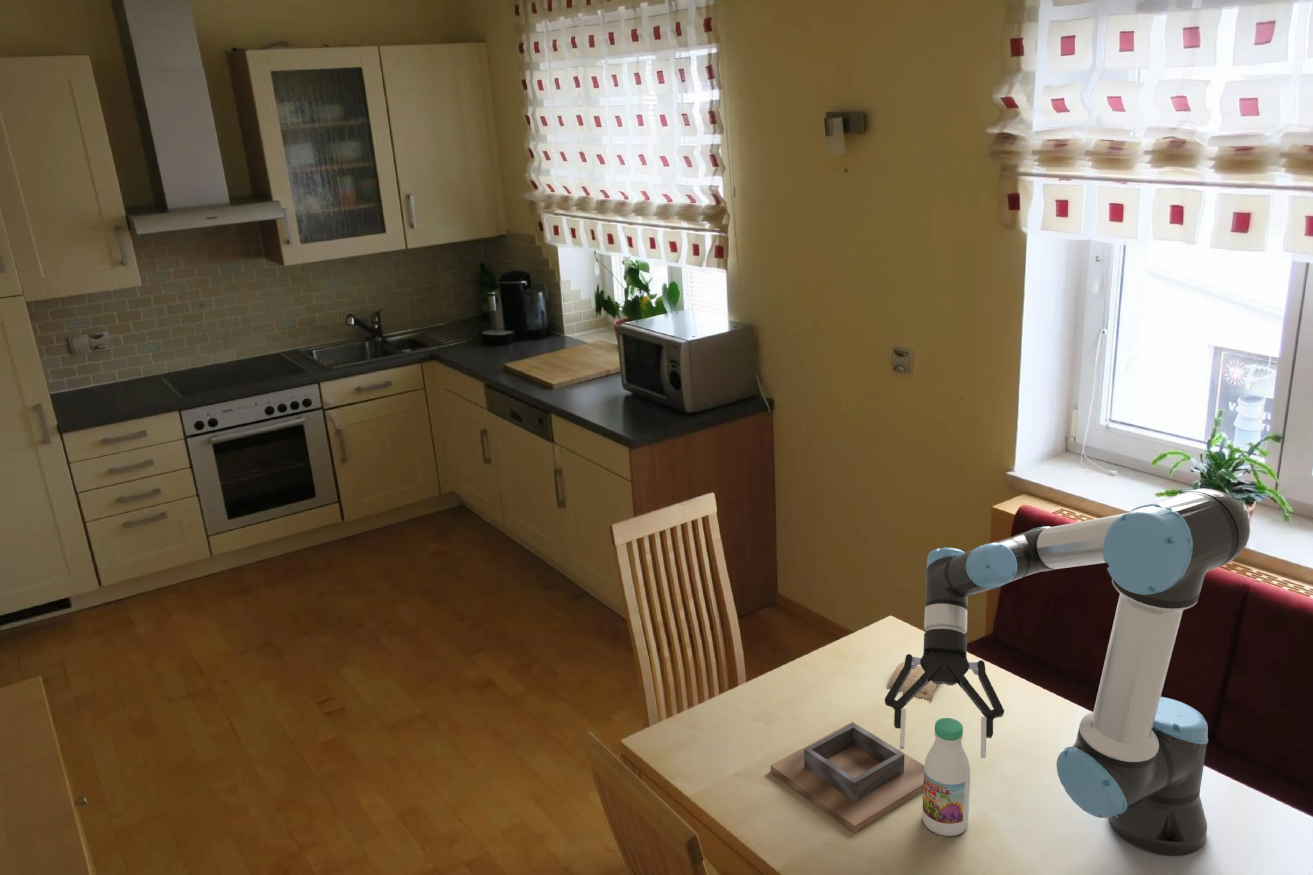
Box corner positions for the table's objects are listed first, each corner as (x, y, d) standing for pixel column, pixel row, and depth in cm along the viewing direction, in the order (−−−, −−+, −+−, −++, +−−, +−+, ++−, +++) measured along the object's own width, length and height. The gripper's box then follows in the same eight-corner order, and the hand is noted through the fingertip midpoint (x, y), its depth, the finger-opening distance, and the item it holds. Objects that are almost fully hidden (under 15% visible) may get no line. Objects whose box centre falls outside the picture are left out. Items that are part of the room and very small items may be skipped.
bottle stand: (938, 781, 189) (939, 756, 188) (854, 832, 177) (855, 806, 176) (852, 727, 206) (852, 704, 205) (770, 771, 195) (770, 747, 193)
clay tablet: (930, 706, 213) (931, 695, 212) (883, 694, 218) (884, 683, 217) (950, 673, 225) (950, 662, 224) (905, 663, 230) (905, 652, 229)
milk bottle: (933, 802, 184) (937, 706, 178) (975, 818, 179) (980, 721, 173) (914, 825, 178) (917, 727, 172) (956, 843, 174) (961, 743, 167)
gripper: (1016, 643, 186) (1016, 763, 177) (876, 632, 193) (869, 747, 184) (1019, 632, 179) (1020, 756, 171) (874, 621, 186) (868, 740, 177)
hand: (942, 752), depth 177 cm, fingers open, 13 cm apart
